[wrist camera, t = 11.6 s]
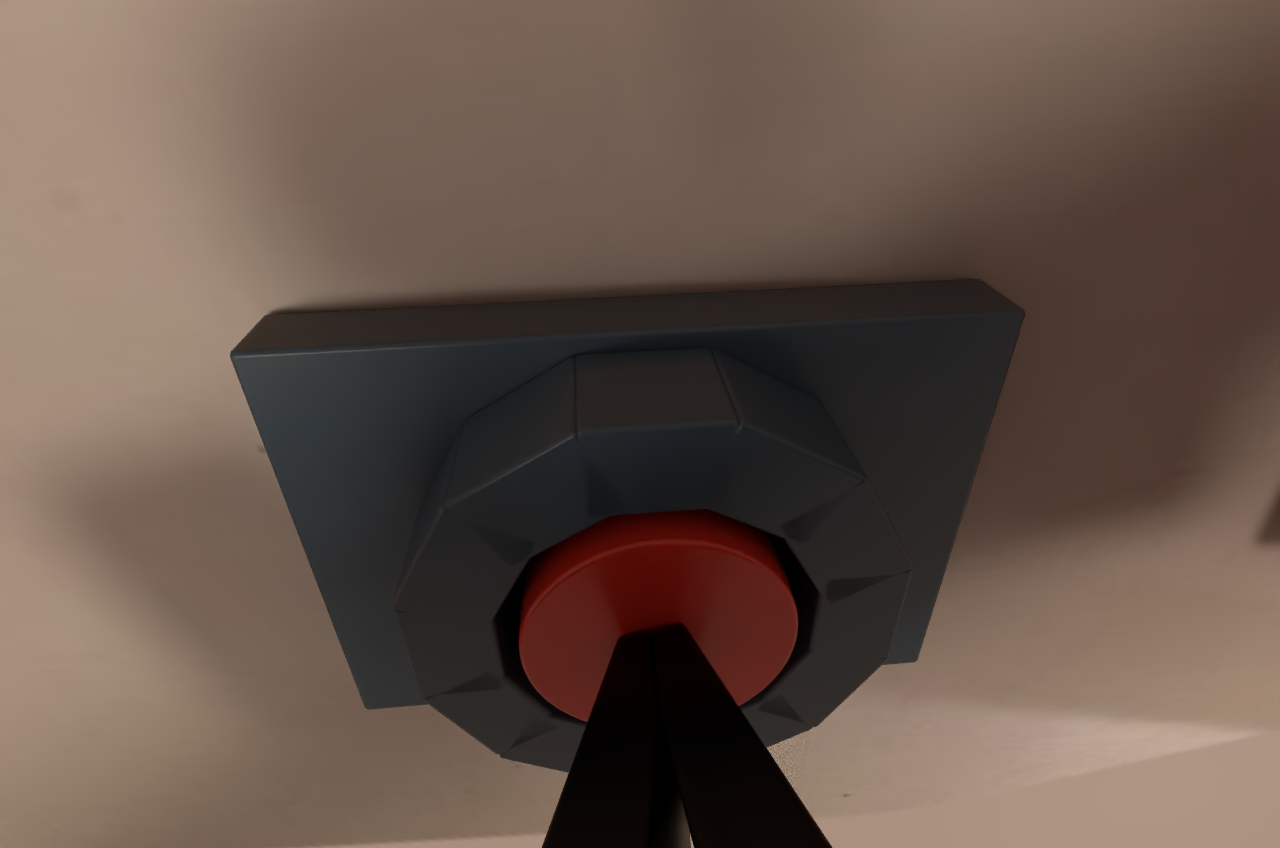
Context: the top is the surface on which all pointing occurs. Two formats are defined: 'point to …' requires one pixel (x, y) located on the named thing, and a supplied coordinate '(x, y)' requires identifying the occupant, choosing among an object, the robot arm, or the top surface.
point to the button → (655, 601)
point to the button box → (625, 470)
